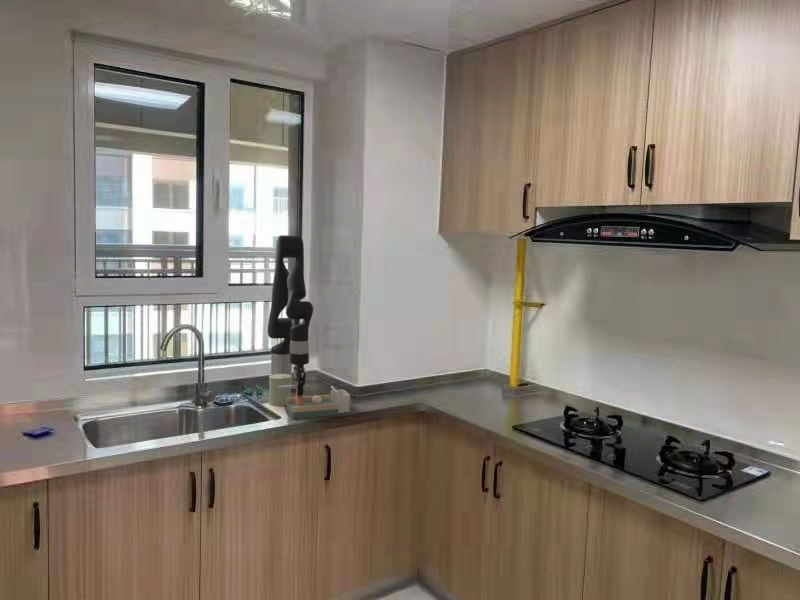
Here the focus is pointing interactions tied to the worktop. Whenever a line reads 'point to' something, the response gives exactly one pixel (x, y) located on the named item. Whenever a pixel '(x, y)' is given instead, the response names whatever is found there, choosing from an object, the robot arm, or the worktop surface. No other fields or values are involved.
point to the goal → (340, 400)
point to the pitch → (311, 407)
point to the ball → (316, 400)
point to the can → (276, 394)
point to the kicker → (298, 399)
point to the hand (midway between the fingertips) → (299, 394)
